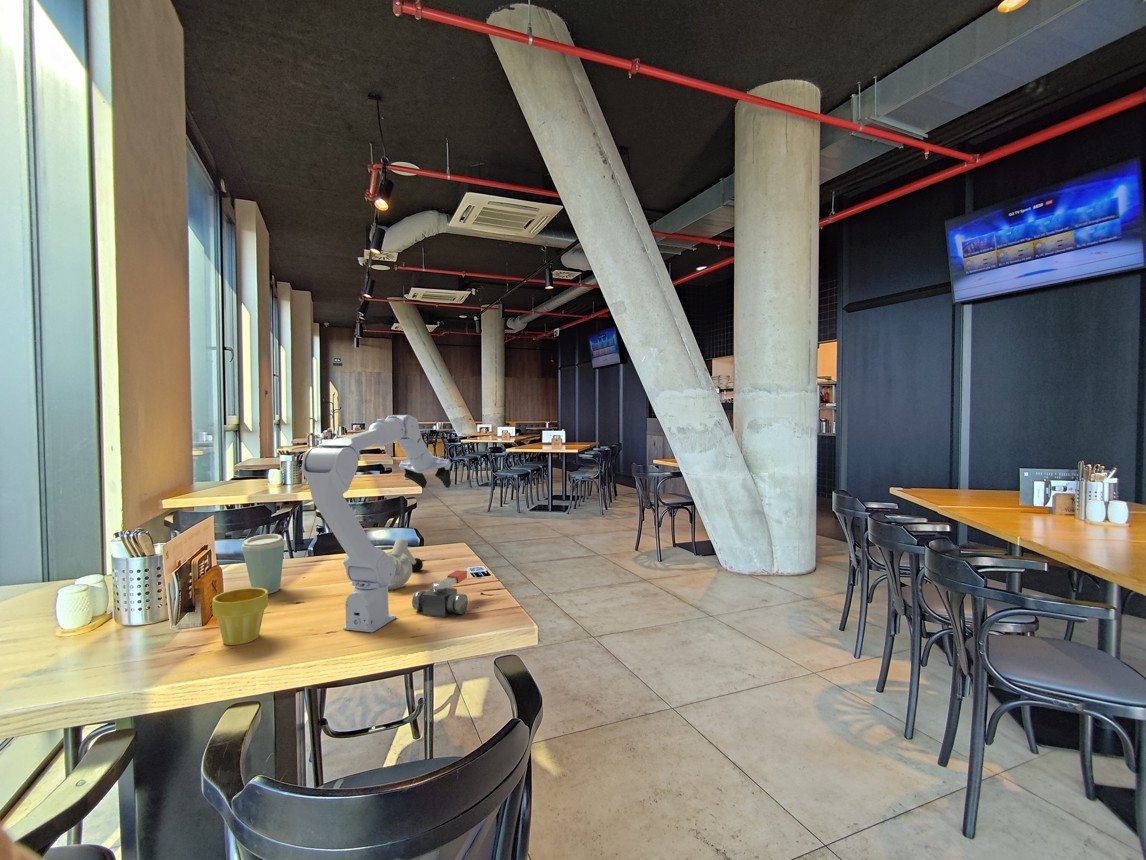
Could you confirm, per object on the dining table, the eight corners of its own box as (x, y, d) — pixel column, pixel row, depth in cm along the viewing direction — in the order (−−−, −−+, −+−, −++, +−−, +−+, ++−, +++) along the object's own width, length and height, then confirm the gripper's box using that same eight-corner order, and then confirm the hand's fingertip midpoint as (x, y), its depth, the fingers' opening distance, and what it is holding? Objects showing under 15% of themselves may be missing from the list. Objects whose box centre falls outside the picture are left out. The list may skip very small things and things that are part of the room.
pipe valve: (457, 618, 128) (457, 597, 128) (410, 613, 132) (410, 593, 132) (469, 609, 134) (468, 589, 134) (423, 605, 138) (423, 585, 138)
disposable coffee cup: (284, 595, 147) (282, 539, 146) (238, 600, 143) (236, 543, 142) (289, 583, 157) (287, 532, 156) (246, 588, 153) (244, 535, 152)
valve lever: (442, 593, 131) (442, 585, 131) (430, 592, 132) (430, 585, 132) (467, 577, 144) (467, 570, 144) (456, 576, 144) (456, 569, 144)
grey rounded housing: (420, 610, 161) (435, 563, 170) (397, 583, 145) (416, 533, 155) (387, 606, 162) (404, 559, 172) (362, 578, 147) (382, 529, 156)
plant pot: (278, 629, 123) (277, 586, 123) (251, 649, 113) (250, 602, 113) (232, 629, 123) (231, 587, 123) (201, 649, 113) (200, 603, 113)
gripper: (446, 439, 144) (464, 473, 153) (398, 441, 148) (419, 474, 157) (437, 459, 139) (456, 493, 148) (388, 460, 143) (409, 493, 152)
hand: (436, 485), depth 152 cm, fingers open, 7 cm apart
